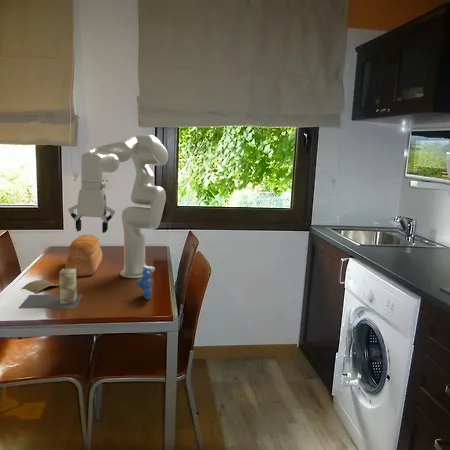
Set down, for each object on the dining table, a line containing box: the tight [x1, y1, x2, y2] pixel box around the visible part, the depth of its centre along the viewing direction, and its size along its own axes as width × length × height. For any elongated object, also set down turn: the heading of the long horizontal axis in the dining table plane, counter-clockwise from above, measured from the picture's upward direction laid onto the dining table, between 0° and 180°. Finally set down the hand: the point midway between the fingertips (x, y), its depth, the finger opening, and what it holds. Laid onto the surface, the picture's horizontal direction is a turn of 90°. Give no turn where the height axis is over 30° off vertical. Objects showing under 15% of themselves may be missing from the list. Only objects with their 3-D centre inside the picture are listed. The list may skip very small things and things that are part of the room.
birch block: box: [58, 268, 78, 304], centre depth 164 cm, size 5×5×12 cm
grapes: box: [135, 267, 154, 300], centre depth 173 cm, size 12×7×12 cm, turn 14°
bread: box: [65, 234, 103, 277], centre depth 207 cm, size 14×26×15 cm, turn 6°
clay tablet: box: [21, 279, 60, 295], centre depth 179 cm, size 14×10×3 cm
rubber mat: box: [18, 294, 84, 309], centre depth 165 cm, size 20×14×1 cm
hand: (91, 231), depth 166 cm, fingers open, 9 cm apart
